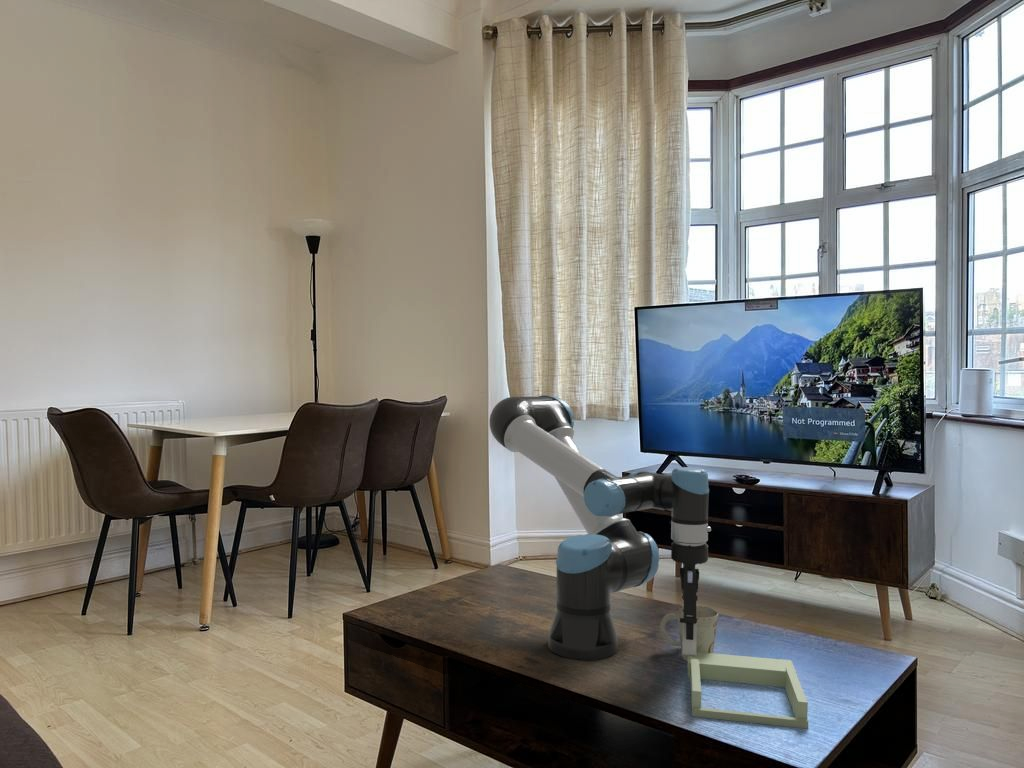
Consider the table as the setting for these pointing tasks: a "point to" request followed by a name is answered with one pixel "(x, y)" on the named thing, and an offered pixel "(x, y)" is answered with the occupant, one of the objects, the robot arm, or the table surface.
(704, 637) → the mug
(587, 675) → the table surface
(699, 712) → the pale green rectangular frame
